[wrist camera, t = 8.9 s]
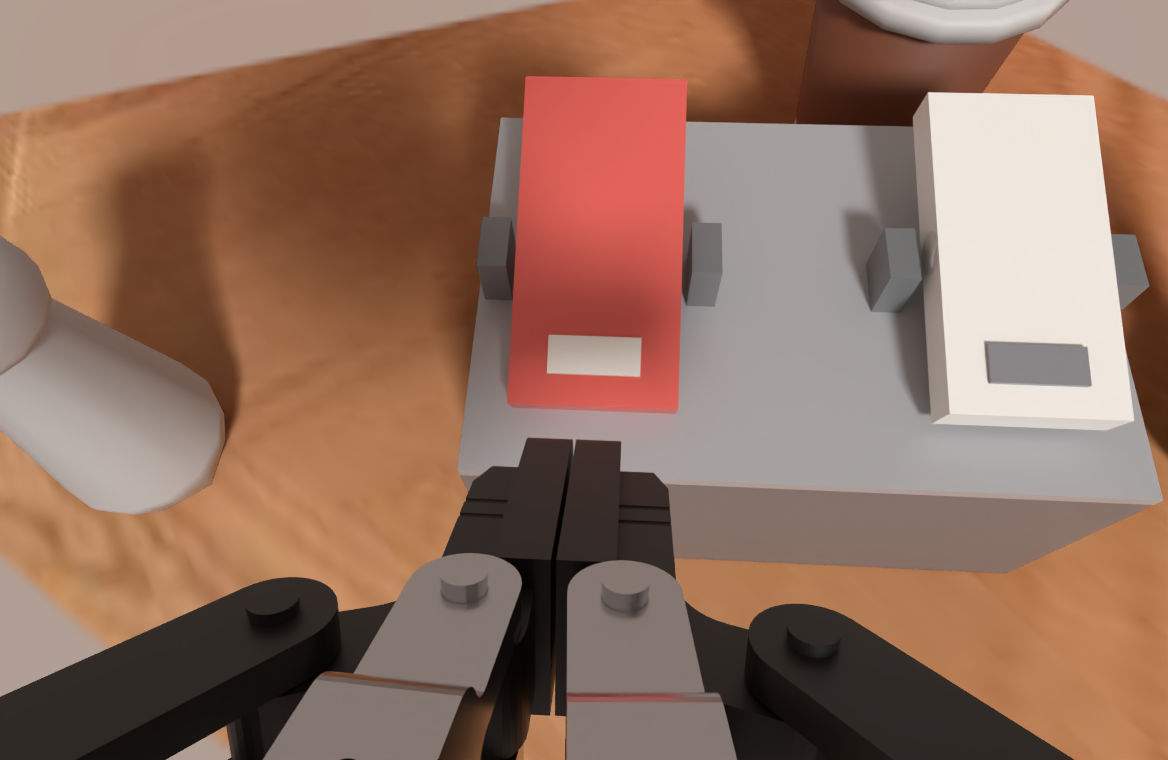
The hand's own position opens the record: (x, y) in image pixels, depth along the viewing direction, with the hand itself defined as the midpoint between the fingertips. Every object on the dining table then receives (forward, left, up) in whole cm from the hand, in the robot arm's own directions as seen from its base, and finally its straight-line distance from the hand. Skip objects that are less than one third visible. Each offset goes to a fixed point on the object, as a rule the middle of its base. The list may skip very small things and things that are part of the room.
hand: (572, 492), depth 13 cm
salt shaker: (+17, -6, -17) cm, 25 cm away
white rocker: (-11, -9, -6) cm, 15 cm away
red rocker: (0, -9, -6) cm, 11 cm away
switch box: (-5, -9, -17) cm, 20 cm away
